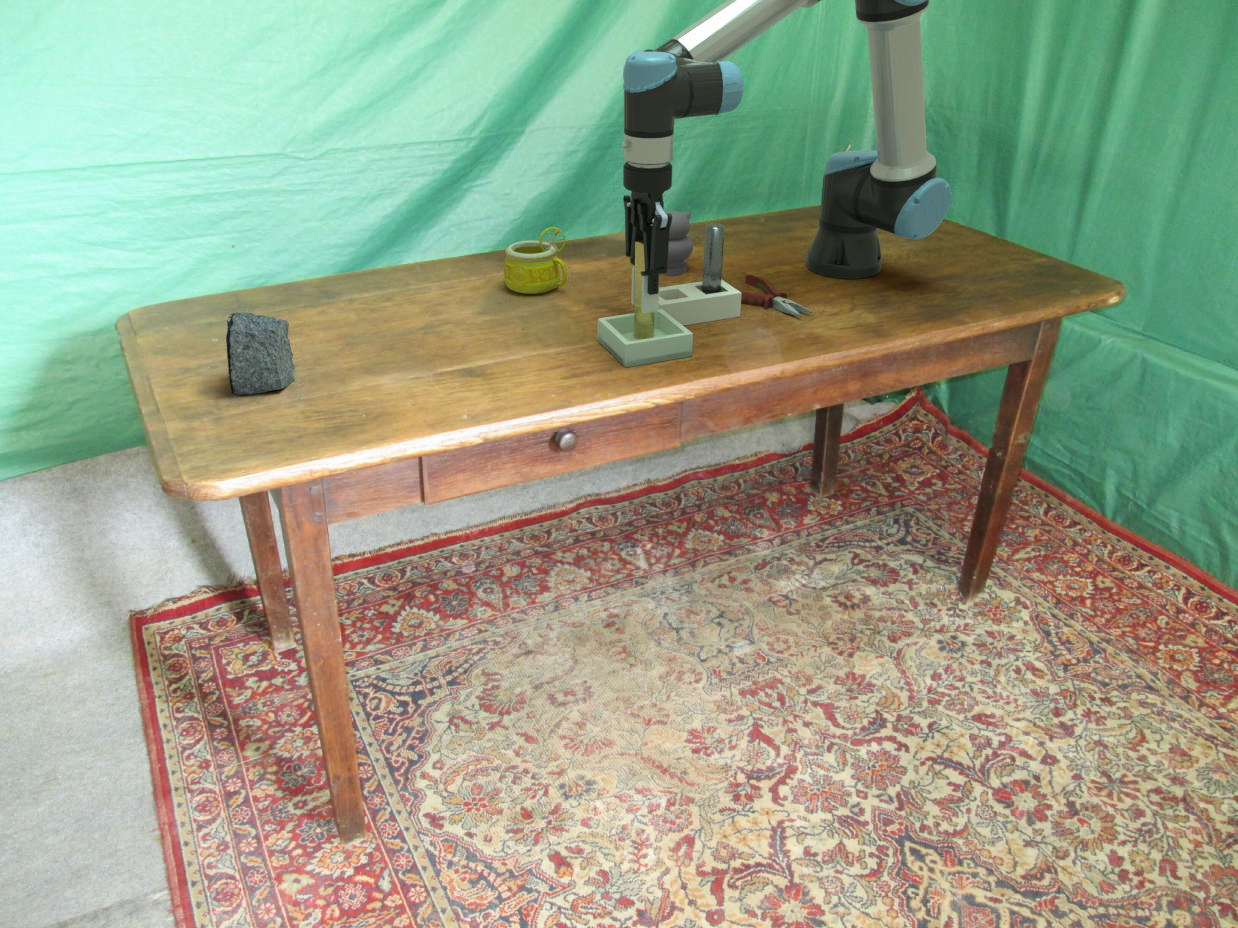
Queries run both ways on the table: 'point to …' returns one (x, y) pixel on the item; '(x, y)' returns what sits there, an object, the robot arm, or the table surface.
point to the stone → (258, 354)
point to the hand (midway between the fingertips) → (644, 307)
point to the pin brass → (641, 320)
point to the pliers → (770, 297)
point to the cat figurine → (678, 243)
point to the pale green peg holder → (699, 303)
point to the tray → (632, 351)
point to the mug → (534, 265)
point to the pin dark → (713, 258)
